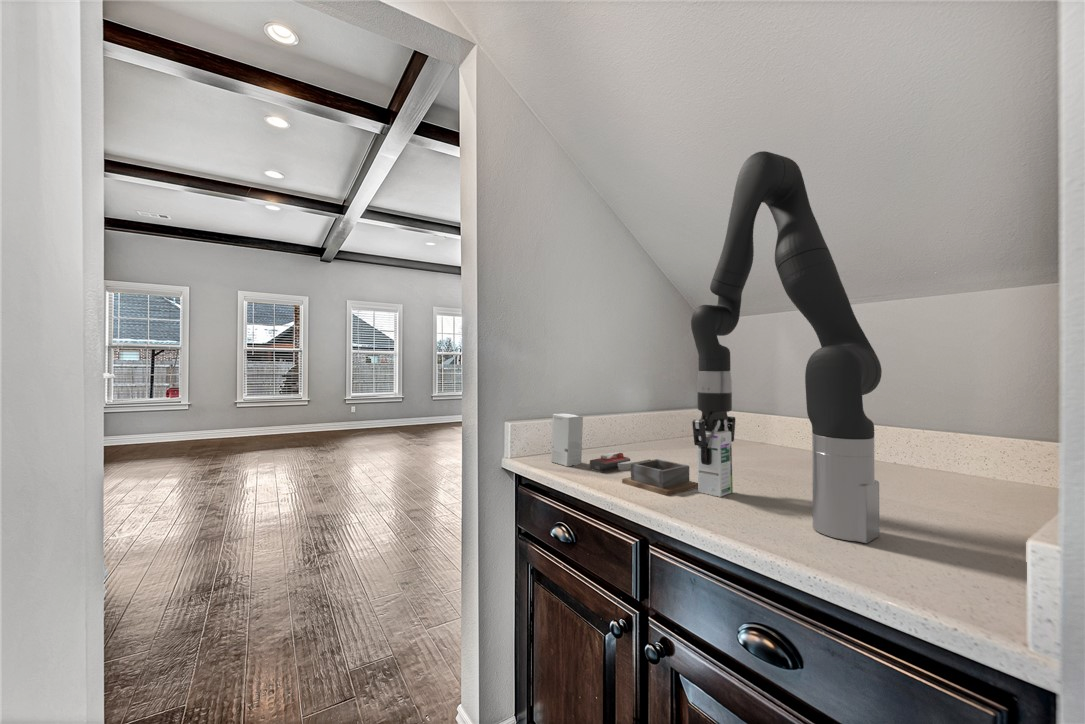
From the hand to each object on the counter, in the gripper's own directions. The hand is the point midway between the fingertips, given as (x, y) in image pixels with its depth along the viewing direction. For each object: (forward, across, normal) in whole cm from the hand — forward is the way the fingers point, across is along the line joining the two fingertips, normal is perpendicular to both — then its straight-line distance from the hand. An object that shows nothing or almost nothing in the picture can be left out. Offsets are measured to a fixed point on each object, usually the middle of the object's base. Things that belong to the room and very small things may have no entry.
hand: (714, 462), depth 105 cm
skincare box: (+7, -8, +45) cm, 46 cm away
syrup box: (+7, 0, 0) cm, 7 cm away
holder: (+7, -5, +12) cm, 15 cm away
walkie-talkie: (+8, +2, +32) cm, 33 cm away
